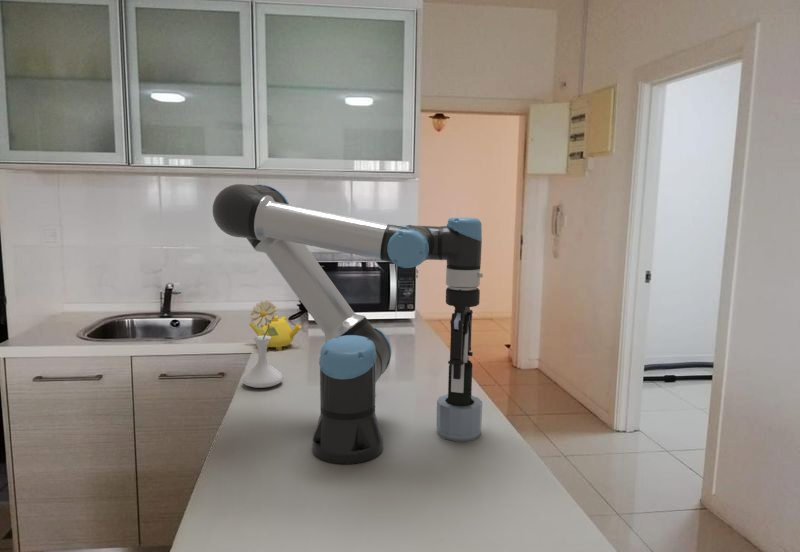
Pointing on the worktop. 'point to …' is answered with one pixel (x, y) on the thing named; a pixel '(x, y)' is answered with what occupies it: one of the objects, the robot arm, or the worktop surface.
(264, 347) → the flower in vase
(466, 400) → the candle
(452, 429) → the pale blue faceted cup
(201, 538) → the worktop surface
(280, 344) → the teapot
